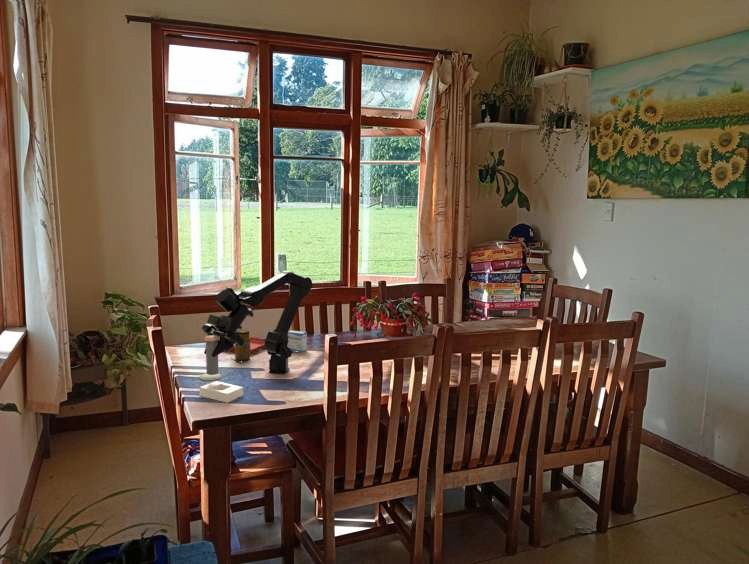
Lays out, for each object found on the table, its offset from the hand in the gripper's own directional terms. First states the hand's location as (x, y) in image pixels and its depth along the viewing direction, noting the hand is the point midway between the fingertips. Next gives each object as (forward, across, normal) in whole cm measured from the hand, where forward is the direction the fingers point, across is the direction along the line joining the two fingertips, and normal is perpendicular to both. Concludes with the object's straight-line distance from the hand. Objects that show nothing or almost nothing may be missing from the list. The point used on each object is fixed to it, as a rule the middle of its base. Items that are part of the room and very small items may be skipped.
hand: (208, 355), depth 204 cm
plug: (+4, 0, +6) cm, 7 cm away
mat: (+3, -11, +15) cm, 19 cm away
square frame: (+9, +8, +8) cm, 15 cm away
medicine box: (-30, -17, +49) cm, 60 cm away
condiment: (-13, -22, +31) cm, 40 cm away
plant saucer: (-20, -36, +40) cm, 57 cm away
